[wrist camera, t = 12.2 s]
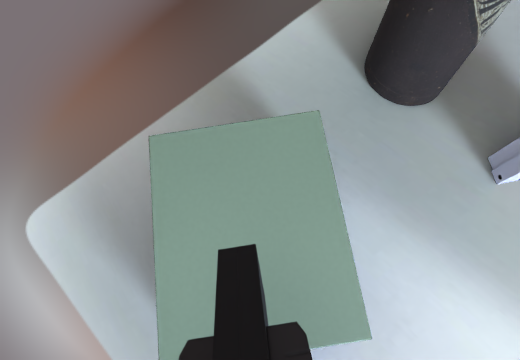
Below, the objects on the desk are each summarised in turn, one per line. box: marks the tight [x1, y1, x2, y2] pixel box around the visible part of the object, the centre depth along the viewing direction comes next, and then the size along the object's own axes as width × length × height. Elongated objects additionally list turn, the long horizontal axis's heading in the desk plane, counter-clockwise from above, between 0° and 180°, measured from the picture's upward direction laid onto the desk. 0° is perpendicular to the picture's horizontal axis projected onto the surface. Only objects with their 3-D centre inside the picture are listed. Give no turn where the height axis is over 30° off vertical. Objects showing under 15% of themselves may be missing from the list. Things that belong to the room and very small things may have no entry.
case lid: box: [149, 110, 372, 360], centre depth 23 cm, size 16×13×1 cm
